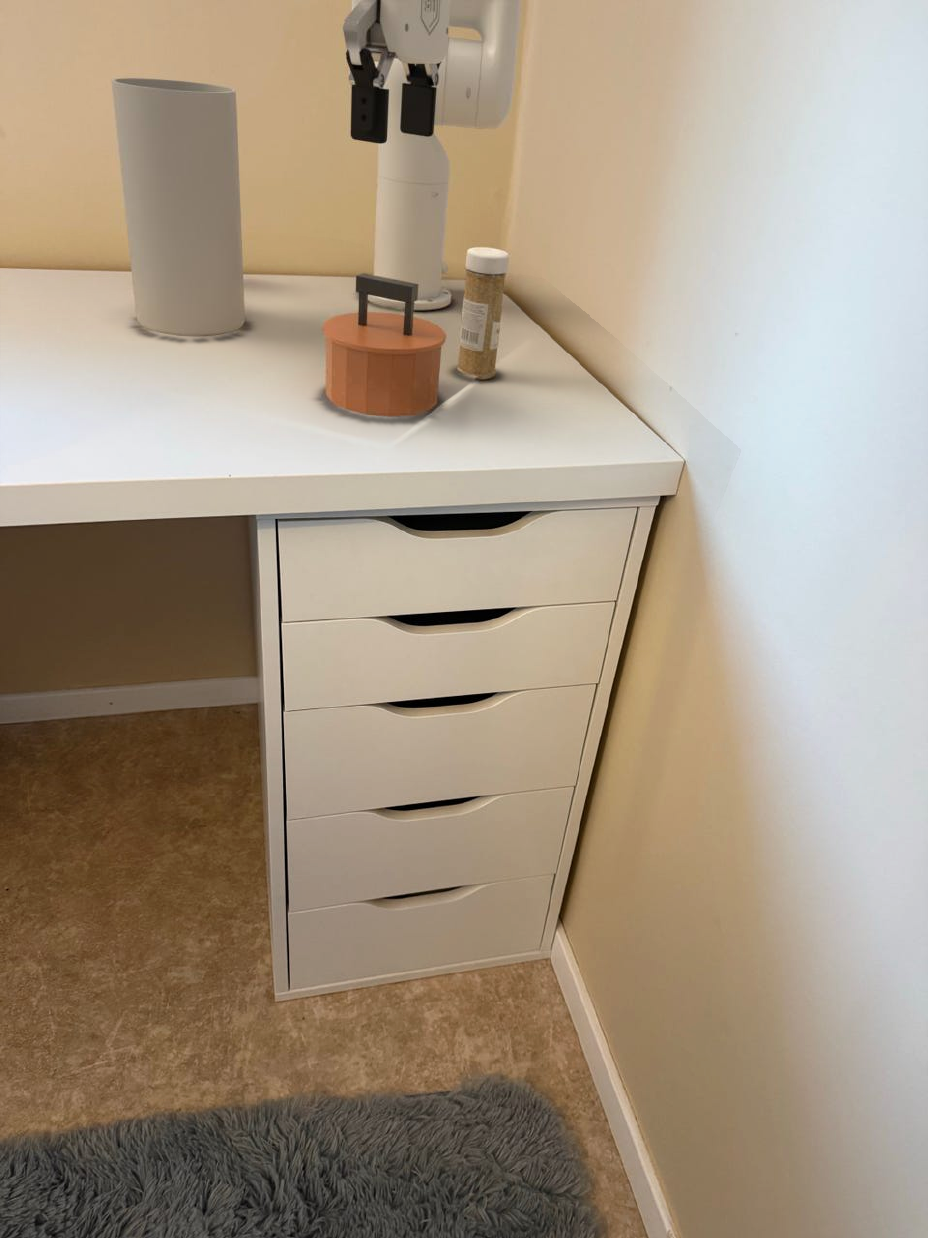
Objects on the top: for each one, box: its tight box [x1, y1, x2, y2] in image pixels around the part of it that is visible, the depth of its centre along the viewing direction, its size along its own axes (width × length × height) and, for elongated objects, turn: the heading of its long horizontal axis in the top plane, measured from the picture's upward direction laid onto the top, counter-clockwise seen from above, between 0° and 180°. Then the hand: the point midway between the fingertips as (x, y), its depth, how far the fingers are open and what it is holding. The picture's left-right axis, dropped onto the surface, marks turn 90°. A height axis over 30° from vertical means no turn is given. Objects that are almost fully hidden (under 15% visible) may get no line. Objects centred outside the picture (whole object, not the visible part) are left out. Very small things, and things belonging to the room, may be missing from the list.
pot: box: [325, 336, 442, 417], centre depth 92 cm, size 11×11×7 cm
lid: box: [322, 272, 447, 354], centre depth 88 cm, size 12×12×6 cm
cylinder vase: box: [111, 77, 246, 337], centre depth 102 cm, size 12×12×25 cm
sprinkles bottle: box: [456, 246, 510, 381], centre depth 100 cm, size 5×5×13 cm
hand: (393, 137), depth 80 cm, fingers open, 9 cm apart
